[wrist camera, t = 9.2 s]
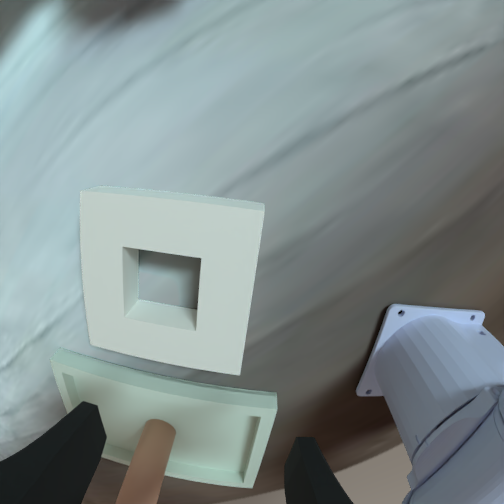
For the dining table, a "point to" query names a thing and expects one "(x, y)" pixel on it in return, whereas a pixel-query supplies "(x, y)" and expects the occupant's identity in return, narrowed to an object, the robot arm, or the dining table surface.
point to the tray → (173, 417)
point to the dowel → (148, 464)
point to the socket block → (173, 242)
